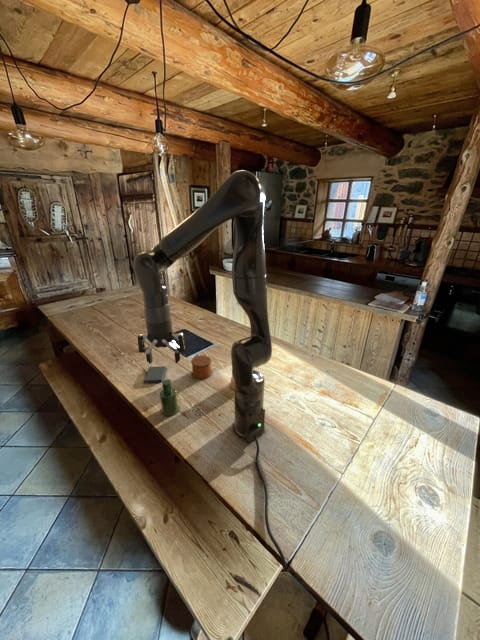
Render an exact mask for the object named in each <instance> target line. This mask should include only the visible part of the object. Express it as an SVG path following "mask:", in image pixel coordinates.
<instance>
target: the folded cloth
mask: <svg viewBox="0 0 480 640" xmlns="http://www.w3.org/2000/svg"><path fill="white" fill-rule="evenodd" d="M166 369H167V366H166V365H162V366H149V367H148V370H147V373H146V375H145V377H144V379H143V381H144V384H148V383H149V384H151V383H162V382H163V381H164V376H165V374H166V373H165V372H166Z"/></svg>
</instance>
